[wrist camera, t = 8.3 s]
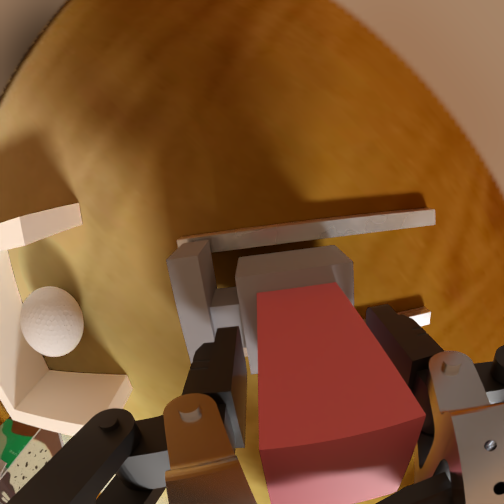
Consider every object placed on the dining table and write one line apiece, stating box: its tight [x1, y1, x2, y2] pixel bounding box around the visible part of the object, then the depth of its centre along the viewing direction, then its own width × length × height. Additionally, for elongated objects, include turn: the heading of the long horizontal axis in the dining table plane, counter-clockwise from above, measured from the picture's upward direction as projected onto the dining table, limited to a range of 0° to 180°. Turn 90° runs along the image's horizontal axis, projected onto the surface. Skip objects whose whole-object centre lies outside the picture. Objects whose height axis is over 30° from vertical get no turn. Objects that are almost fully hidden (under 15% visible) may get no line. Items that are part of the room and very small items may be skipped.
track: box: [177, 208, 435, 357], centre depth 15 cm, size 13×7×1 cm, turn 98°
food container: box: [0, 416, 64, 504], centre depth 14 cm, size 12×6×10 cm, turn 164°
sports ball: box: [20, 286, 84, 357], centre depth 14 cm, size 4×4×4 cm
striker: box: [166, 240, 426, 504], centre depth 9 cm, size 7×6×10 cm
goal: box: [0, 203, 133, 436], centre depth 13 cm, size 8×12×5 cm
